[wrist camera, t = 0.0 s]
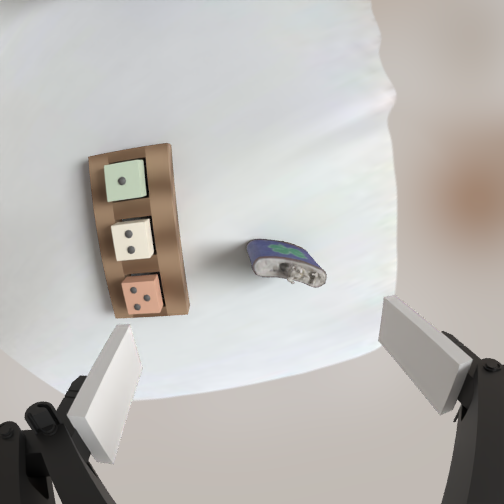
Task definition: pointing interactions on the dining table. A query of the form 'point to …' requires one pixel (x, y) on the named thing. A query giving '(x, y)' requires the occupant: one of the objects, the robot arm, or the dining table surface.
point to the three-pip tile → (142, 294)
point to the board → (164, 226)
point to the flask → (284, 262)
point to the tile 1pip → (125, 180)
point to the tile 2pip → (132, 239)
